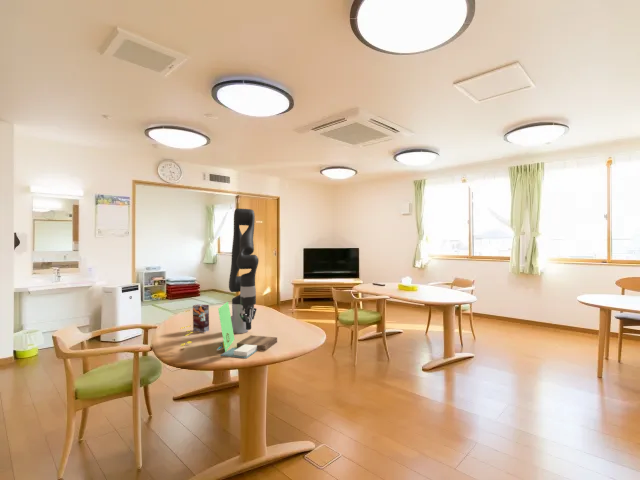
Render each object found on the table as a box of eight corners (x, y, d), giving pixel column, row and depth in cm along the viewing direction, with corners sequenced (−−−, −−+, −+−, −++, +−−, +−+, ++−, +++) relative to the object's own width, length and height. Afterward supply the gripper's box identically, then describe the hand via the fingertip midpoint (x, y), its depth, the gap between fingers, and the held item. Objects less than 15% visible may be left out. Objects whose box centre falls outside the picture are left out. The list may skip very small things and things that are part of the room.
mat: (220, 355, 158) (220, 355, 158) (232, 348, 169) (232, 347, 169) (246, 358, 154) (246, 357, 154) (257, 350, 164) (257, 349, 164)
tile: (233, 355, 158) (233, 350, 158) (244, 348, 167) (244, 344, 167) (246, 356, 156) (246, 352, 156) (257, 349, 165) (257, 345, 165)
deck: (237, 348, 169) (236, 343, 169) (250, 339, 182) (250, 335, 182) (265, 350, 164) (265, 345, 164) (277, 342, 177) (277, 337, 177)
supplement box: (192, 331, 200) (192, 305, 200) (198, 329, 205) (197, 303, 204) (204, 333, 197) (203, 306, 197) (209, 330, 201) (209, 304, 201)
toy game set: (190, 347, 182) (182, 304, 182) (235, 339, 183) (228, 296, 183) (174, 361, 160) (166, 312, 160) (226, 352, 162) (218, 303, 162)
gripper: (248, 292, 172) (248, 325, 172) (234, 297, 159) (234, 332, 160) (261, 292, 170) (261, 326, 170) (248, 297, 157) (248, 334, 157)
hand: (248, 329), depth 165 cm, fingers closed
